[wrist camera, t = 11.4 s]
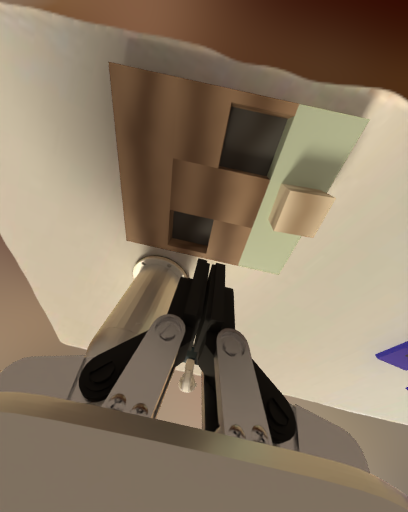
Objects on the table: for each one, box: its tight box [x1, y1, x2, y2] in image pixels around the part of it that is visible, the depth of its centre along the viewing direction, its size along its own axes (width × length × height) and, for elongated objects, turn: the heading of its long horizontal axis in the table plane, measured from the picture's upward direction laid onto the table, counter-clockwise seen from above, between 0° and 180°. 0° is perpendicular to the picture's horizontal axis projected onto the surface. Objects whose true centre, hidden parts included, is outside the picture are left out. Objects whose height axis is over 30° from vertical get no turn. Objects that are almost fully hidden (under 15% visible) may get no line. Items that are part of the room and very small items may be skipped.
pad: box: [238, 104, 370, 275], centre depth 25 cm, size 8×22×3 cm, turn 170°
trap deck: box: [109, 62, 299, 266], centre depth 25 cm, size 20×22×3 cm
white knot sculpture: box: [179, 347, 198, 393], centre depth 51 cm, size 6×8×11 cm
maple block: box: [268, 183, 336, 238], centre depth 22 cm, size 5×5×4 cm
